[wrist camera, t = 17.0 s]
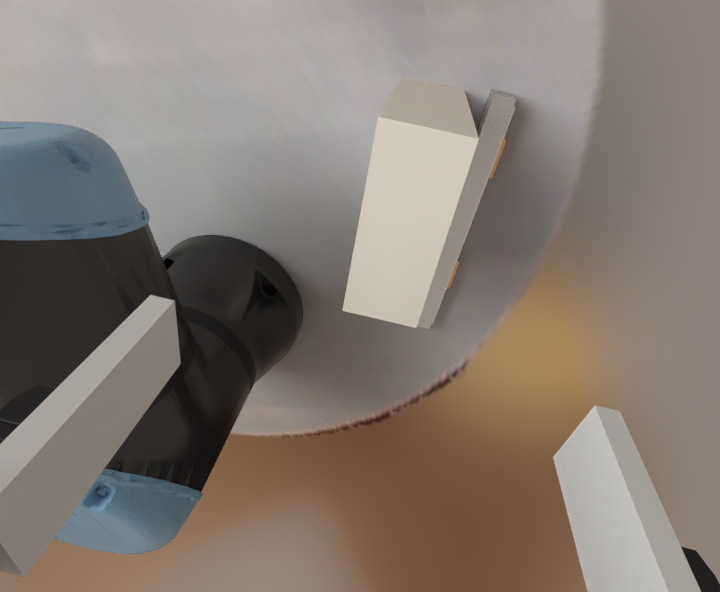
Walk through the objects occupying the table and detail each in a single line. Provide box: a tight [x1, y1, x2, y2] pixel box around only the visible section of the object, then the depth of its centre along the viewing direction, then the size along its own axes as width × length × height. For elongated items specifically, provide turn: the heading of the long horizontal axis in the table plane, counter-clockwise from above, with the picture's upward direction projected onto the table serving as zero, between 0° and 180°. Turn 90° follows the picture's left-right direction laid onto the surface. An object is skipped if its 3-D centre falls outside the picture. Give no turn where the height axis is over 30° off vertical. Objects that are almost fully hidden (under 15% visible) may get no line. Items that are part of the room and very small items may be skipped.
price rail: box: [417, 90, 517, 329], centre depth 33 cm, size 20×2×2 cm, turn 169°
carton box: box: [342, 77, 479, 328], centre depth 27 cm, size 5×11×13 cm, turn 170°
